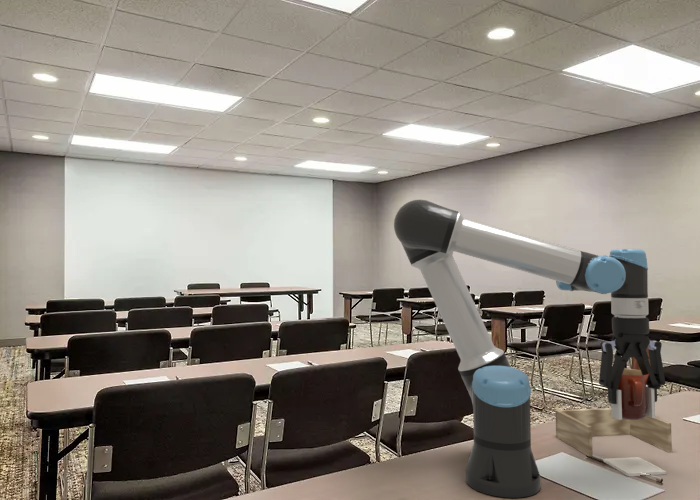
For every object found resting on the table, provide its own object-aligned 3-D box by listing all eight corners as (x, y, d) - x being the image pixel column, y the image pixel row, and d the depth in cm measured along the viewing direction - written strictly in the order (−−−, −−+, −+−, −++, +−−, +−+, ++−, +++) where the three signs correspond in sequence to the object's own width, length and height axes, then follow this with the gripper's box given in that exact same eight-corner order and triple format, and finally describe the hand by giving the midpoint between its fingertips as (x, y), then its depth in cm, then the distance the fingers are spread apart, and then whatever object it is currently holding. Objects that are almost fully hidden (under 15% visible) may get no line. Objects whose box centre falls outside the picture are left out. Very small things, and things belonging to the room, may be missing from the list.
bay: (588, 456, 125) (587, 427, 125) (556, 436, 140) (555, 410, 140) (671, 451, 128) (671, 423, 128) (631, 433, 143) (630, 407, 143)
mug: (603, 410, 125) (601, 367, 125) (642, 412, 123) (641, 368, 123) (618, 425, 113) (617, 377, 113) (662, 427, 111) (661, 379, 112)
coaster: (628, 476, 113) (628, 473, 113) (603, 461, 122) (603, 458, 122) (666, 474, 114) (666, 471, 114) (638, 459, 123) (638, 456, 123)
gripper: (598, 318, 114) (601, 424, 113) (682, 316, 117) (686, 419, 116) (579, 315, 121) (582, 414, 121) (658, 314, 124) (662, 410, 123)
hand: (633, 417), depth 118 cm, fingers closed on mug, 7 cm apart
